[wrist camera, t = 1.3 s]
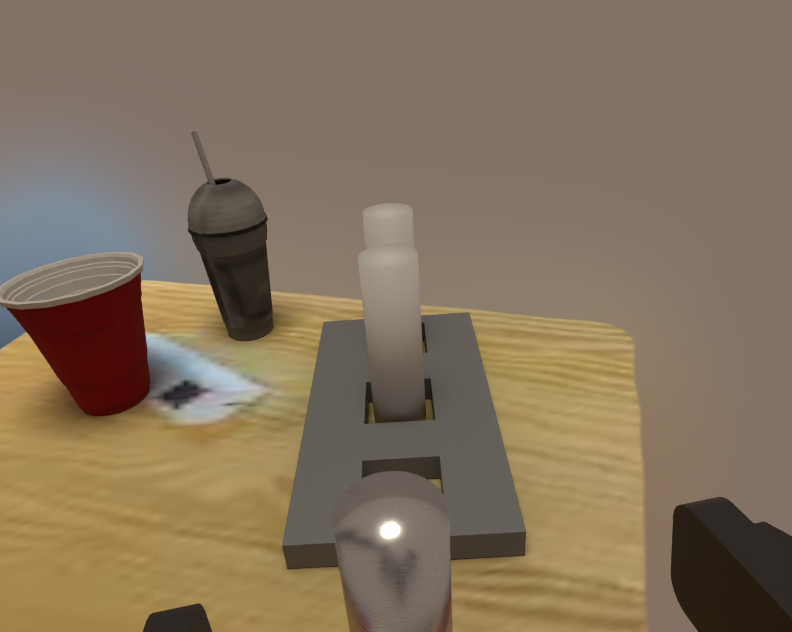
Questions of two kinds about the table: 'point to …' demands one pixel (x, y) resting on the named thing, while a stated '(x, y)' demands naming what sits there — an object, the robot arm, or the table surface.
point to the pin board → (401, 410)
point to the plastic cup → (87, 326)
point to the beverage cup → (233, 251)
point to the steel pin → (394, 554)
